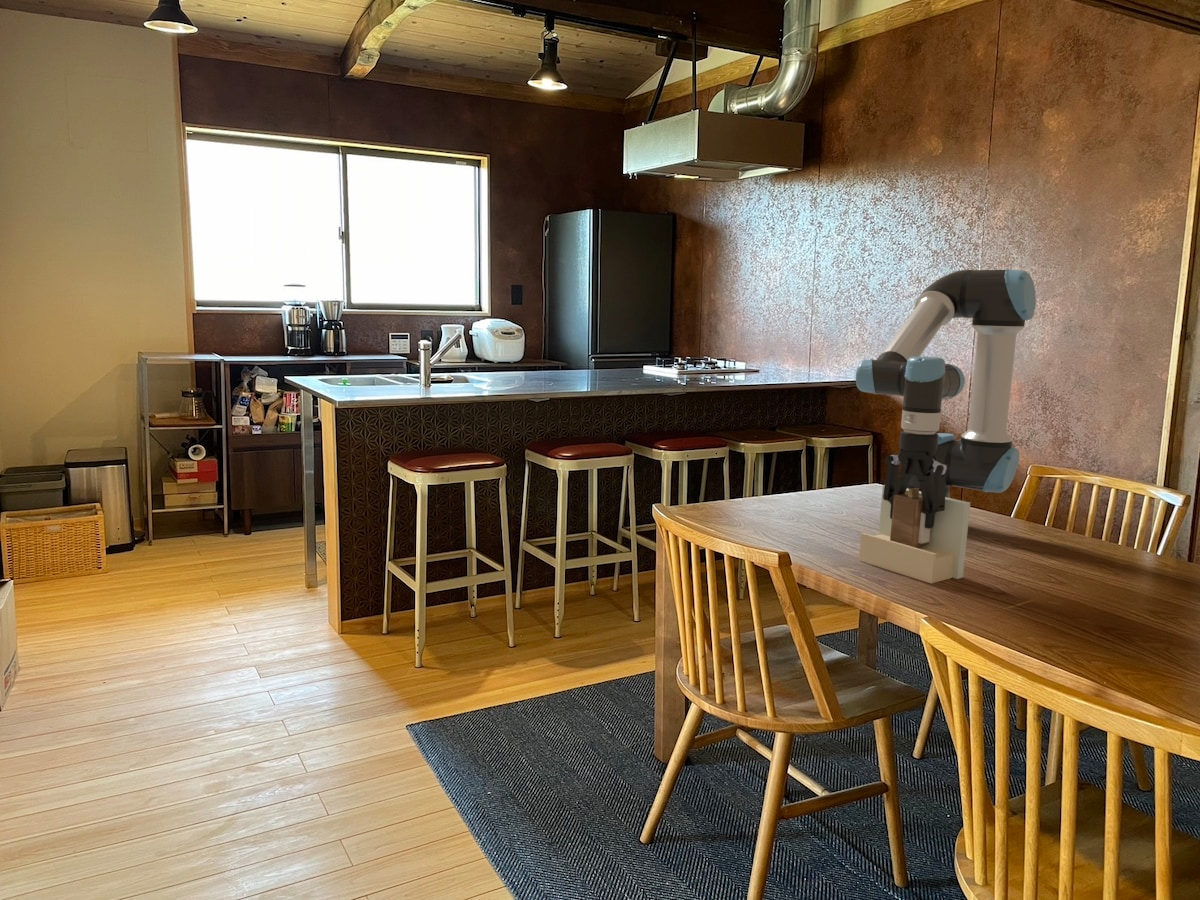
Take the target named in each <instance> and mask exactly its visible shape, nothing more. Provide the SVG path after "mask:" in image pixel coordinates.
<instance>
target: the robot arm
mask: <svg viewBox="0 0 1200 900" xmlns="http://www.w3.org/2000/svg"><path fill="white" fill-rule="evenodd" d="M1036 297H1037V296H1036V287H1035V282H1034V280H1033V277H1032V276H1031V274H1030V273H1029V272H1027V271H1025V270H1022V269H1021V270H1019V269H1009V268H1008V269H961V270H956V271H954V272H950V273H949V274H946V275H944V276H942V277H940V278H939V279H937V280H935V281H934V282H933V283H931V284H930V285H928V286H927V287H926V288H925V289H924V290H923V291H922V292H921V293H920V295H919V296H918V297H917V298H916V300H915V303H914V310H913V311H912V312H911V313H910V314H909V316H908V318H907V319H906V320H905V322H903V324H902V325H901V327H900V328H899V329H898V330H897V332H896V333H895V335H894V336H893V337H892V338H891V339H890V341H889V342H888V344H886V347H885V348H883V351H882V352H881V353H880V355H878V356H877V358H876V359H873V358H870V359H864V360H861V361H860V362H859V363H858V364H857V367H856V370H855V383H856V384H855V385H856V387H857V389H858V390H859V391H860V392H863V393H868V394H874V395H885V396H887V395H888V396H896V397H897V396H899V397H903V401H902V411H901V422H900V428H901V429H903V430H902V431H901V432H900V435H899V444H898V445H899V452H898V454H891V455H887V456H886V458H885V460H886V466H887V468H886V474H885V482H884V485H885V487H884V494H883V499H884V500H887V501H888V502H890V504H891V510H890V518H891V519H892V513H893V501H894V495H899V494H905V492H906V489H911V488H919V491H921V494H922V499H923V505H924V510H925V511H922V513H921V518H920V529H919V540H918V543H921V544H922V543H926V542H929V537H930V528H933V526H934V518H935V513H936V512H940V511H944V509H945V497H948V498H951V497H950V491H951V490H950V489H951V487H956V488H963V489H969V490H975V491H982V492H983V493H995V494H997V493H1004V492H1005V491H1006V490H1008V488H1009V487H1010V486H1011V484H1012V482H1013V480H1014V478H1015V475H1016V472H1017V469H1018V465H1019V460H1020V451H1019V449H1018V448H1017V447H1015V446H1013V438H1012V437H1011V436H1010V435H1009V434H1008V432H1007V429H1008V420H1009V419H1008V418H1009V417H1008V416H1009V409H1010V402H1011V401H1010V399H1011V389H1012V379H1013V371H1014V361H1015V352H1016V345H1017V344H1016V343H1017V342H1016V341H1017V335H1018V334H1019V333H1020V332H1021V331H1022V330H1024V328H1025V322H1027V321H1029V320H1032V318H1033V317H1034V315H1035V310H1036V301H1037V300H1036ZM956 318H958V319H959V318H964V319H965V318H966V319H972V320H971V321H972V323H971V327H972V328H973V329H974V330H975V331H976V332H977V337H976V338H977V341H976V349H975V361H974V371H973V381H972V382H973V383H972V391H971V401H970V410H969V411H970V412H969V420H968V421H969V422H968V429H967V430H966V431H965V432H963V434H961V436H960V440H956V437H955V434H953V433H948V432H947V433H946V432H945V433H943V432H941V433H940V432H939V433H937V432H938V431H940V425H941V412H942V411H941V409H942V401H945V400H949V399H952V398H954V397H956V396H957V395H959V394H960V393H961V392H962V391H963V389H964V387H965V385H966V379H965V377H966V376H965V375H964V372H963V370H962V369H961V368H959V367H958V366H957V365H955V364H950V363H946V362H945V359H943V358H942V357H937V356H936V357H935V356H921V355H922V354H923V353H924V352H925V350H926V349H927V348H928V346H929V344H930V343H931V342H932V340H933V339H934V338H935V336H936V334H937V333H938V332H939V331H940V329H941V328H942V326H945V325H947V324H948V323H950V322H951V321H952V319H956ZM900 465H901V468H900ZM899 469H900V470H899Z"/></svg>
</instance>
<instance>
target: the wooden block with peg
mask: <svg viewBox="0 0 1200 900" xmlns="http://www.w3.org/2000/svg"><path fill="white" fill-rule="evenodd" d="M922 511H925V510H924V505H923V499H922V496H920V495H919V488H911V489H909V493H905V494H899V495H894V501H893V513H892V524H891V536H890V541H894V542H897V543H901V544H904V545H908V546H911V547H915V548H916V547H920V546H924V545H929V542H926V543H922V544H921V543H918V540H919V529H920V518H921V513H922Z"/></svg>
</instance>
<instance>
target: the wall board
mask: <svg viewBox="0 0 1200 900" xmlns="http://www.w3.org/2000/svg"><path fill="white" fill-rule="evenodd" d="M884 487H885V484H883V485H882V490H881V491H882V492H881V503H880V515H879V528H878V534H876V535H873V534H869V533H865V532H861V534H860V544H859V558H858V561H859V562H862V563H865V564H869V565H871V566H875V567H877V568H880V569H881V568H882V569H883V570H884V569H885V570H888V571H890V572H893V573H897V574H900V575H903V576H906V577H908V578H913V579H915V580H918V581H920V582H925V583H929V584H931V585H932V584H935V583H939V582H941V581H945V580H949V579H957V580H959V579H962V578H963V577H964V570H965V559H966V551H967V541H968V540H967V539H968V530H969V519H970V511H971V502H970V501H965V500H959V499H956V498H951V497H950V498H948V497H945V509H944V511H940V512H936V513H935V518H934V526H933V528H930V537H929V545H924V546H920V547H916V548H915V547H911V546H908V545H904V544H901V543H897V542H894V541H890V536H891V524H892V519H891V518H890V510H891V504H890V502H888V501H887V500H884V499H883V494H884ZM905 493H909V489H906V492H905ZM919 495H920V496H922V494H921V491H919Z"/></svg>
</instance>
